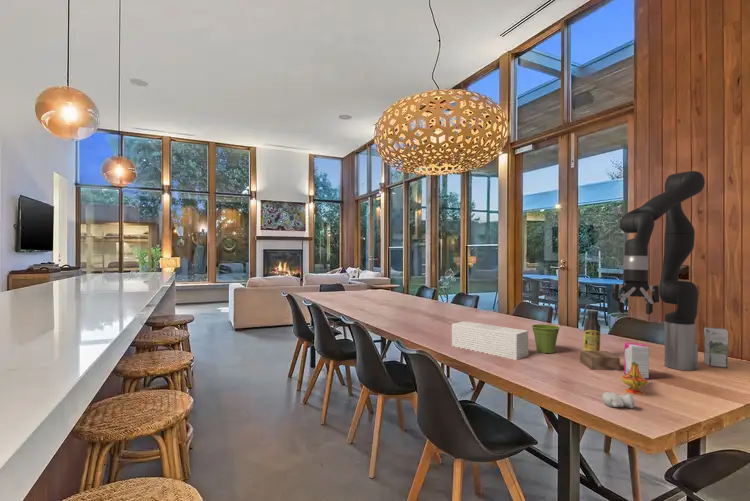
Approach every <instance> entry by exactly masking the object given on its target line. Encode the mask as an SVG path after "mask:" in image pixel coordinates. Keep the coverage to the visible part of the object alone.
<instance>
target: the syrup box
mask: <svg viewBox="0 0 750 501" xmlns="http://www.w3.org/2000/svg"><path fill="white" fill-rule="evenodd" d="M703 330H704V332H703V334H704V335H703V336H704V339H703V341H704V342H703V344H704V346H703V347H704V349H703V350H704V351H703V353H704V354H703V358H704V359H703V362H704V363H705V365H707V366H708V367H714V368H723V369H724V368H728V360H729V358H728V357H729V355H728V354H729V348H728V347H729V344H728V343H729V331H728V330H727V329H725V328H723V327H706V326H705V327H704V329H703Z"/></svg>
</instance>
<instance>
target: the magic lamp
mask: <svg viewBox="0 0 750 501" xmlns="http://www.w3.org/2000/svg"><path fill="white" fill-rule="evenodd" d="M631 364H632V366H631V369H630V372H629V373H628V374H626V375H625V374H624V375H622V376H621V380H622V382H623V384H625V385H626V386H628V387H629V388H625V389H624V391H625V392H626V393H627V394H630V395H636V396H642V395H645V392H643V391H642V390H640V388H644V387H646V386H647V385H648V380H647V379H645V378H644V377H642V376H641V374H640V372H639V368H638V364H636V363H635V362H632V363H631Z"/></svg>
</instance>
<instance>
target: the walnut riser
mask: <svg viewBox="0 0 750 501" xmlns="http://www.w3.org/2000/svg"><path fill="white" fill-rule="evenodd" d="M579 352H580V353H579V363H581V364H582V365H584V366H585V367H586V368H588V369H590V370H592V371H614V370H617V371H618V372H619V371H620V369H621V368H620V367H621V364H620V362H621V360H620V359H621V358H620V357H619V356H617V355H614V354H613V353H611V352H609V351H606V350H600V351H583V350H579Z"/></svg>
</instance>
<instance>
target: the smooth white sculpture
mask: <svg viewBox="0 0 750 501" xmlns="http://www.w3.org/2000/svg"><path fill="white" fill-rule="evenodd" d="M601 400H602V403H603V404H604V405H605V406H608V407H609V408H621V407H622V408H623V407H624V406H625V407H628V408H629V409H633V408H635V404H636V403H635V398H634V396H633V394H630V393H627V394H625V395H623V394H622V395H621V394H617V393H615V392H614V391H611V392H610V391H605V392H603V394H602V395H601Z"/></svg>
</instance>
